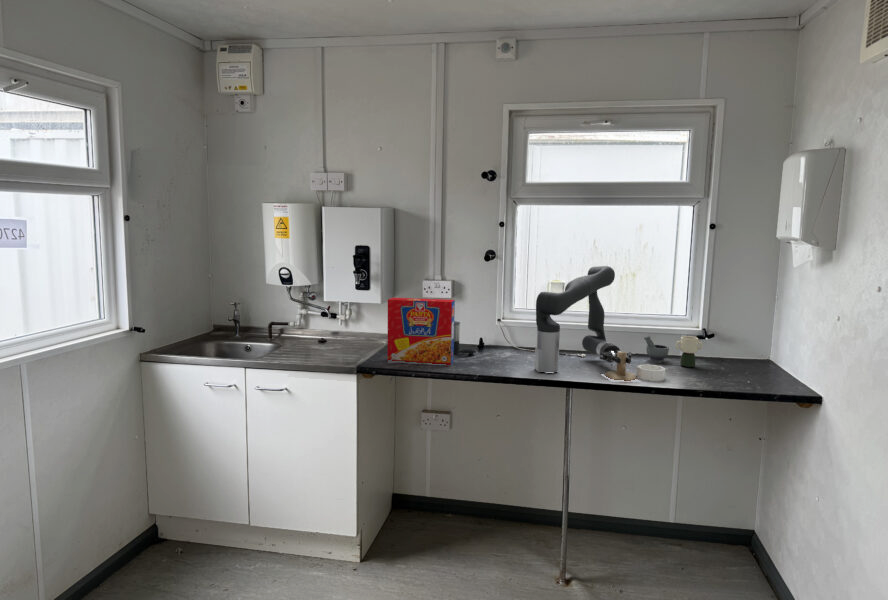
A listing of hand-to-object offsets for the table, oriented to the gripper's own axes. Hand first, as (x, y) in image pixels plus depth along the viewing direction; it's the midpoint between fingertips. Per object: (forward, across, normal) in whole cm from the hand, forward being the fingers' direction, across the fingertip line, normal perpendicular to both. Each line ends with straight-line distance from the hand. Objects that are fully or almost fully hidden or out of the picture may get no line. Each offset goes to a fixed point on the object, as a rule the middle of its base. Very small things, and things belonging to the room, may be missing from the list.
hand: (624, 361), depth 222 cm
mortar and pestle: (-31, +28, +8) cm, 42 cm away
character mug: (-21, +38, +8) cm, 44 cm away
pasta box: (-32, -79, +8) cm, 85 cm away
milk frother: (-49, -60, +8) cm, 78 cm away
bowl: (-2, +12, +8) cm, 14 cm away
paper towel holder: (-3, 0, +7) cm, 8 cm away
